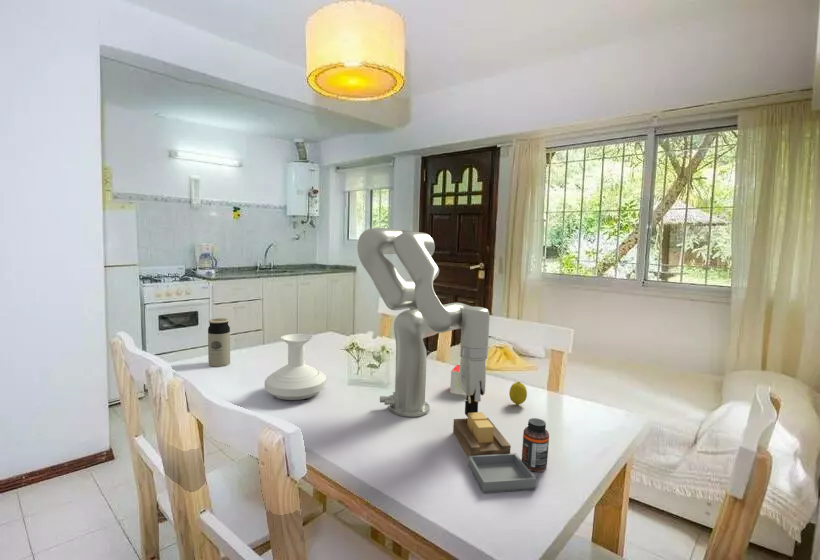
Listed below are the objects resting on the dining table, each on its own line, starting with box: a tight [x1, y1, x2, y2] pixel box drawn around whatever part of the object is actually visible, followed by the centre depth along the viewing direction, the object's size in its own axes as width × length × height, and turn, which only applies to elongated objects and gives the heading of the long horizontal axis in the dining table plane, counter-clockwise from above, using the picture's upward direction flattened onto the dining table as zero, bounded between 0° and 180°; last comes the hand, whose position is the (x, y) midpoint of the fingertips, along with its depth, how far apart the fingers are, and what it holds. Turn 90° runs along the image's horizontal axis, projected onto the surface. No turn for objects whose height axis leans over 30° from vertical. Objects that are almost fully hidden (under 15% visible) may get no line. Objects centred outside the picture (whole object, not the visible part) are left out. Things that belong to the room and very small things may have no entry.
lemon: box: [509, 381, 528, 406], centre depth 140 cm, size 6×6×8 cm
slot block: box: [452, 417, 512, 459], centre depth 112 cm, size 10×16×4 cm, turn 10°
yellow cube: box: [467, 411, 488, 434], centre depth 115 cm, size 4×4×4 cm
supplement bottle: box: [521, 417, 550, 473], centre depth 103 cm, size 6×6×11 cm
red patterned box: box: [449, 364, 465, 396], centre depth 151 cm, size 8×8×8 cm
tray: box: [467, 452, 537, 494], centre depth 98 cm, size 12×11×2 cm
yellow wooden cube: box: [473, 420, 494, 443], centre depth 110 cm, size 4×4×4 cm
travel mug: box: [207, 317, 231, 368], centre depth 170 cm, size 8×8×18 cm
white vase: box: [264, 333, 327, 401], centre depth 143 cm, size 20×20×19 cm
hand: (471, 415), depth 120 cm, fingers closed
